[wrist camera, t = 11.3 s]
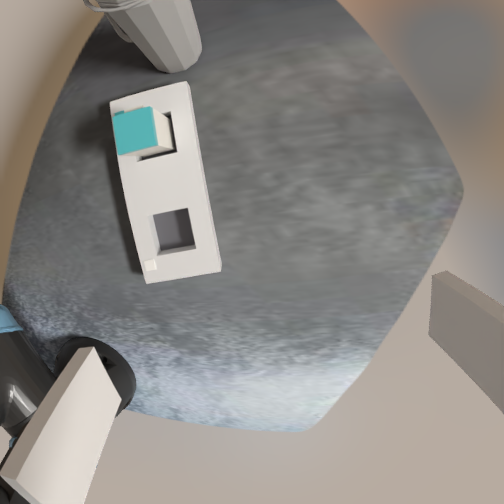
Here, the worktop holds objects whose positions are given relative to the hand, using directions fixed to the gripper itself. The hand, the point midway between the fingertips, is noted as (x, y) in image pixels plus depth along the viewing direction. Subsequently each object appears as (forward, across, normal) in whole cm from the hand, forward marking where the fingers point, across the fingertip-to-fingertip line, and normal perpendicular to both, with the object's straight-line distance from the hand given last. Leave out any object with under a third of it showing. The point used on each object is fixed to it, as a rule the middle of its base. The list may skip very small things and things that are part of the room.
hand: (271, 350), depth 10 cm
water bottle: (+31, -5, +24) cm, 39 cm away
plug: (+30, -8, +12) cm, 34 cm away
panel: (+31, -9, +6) cm, 32 cm away
